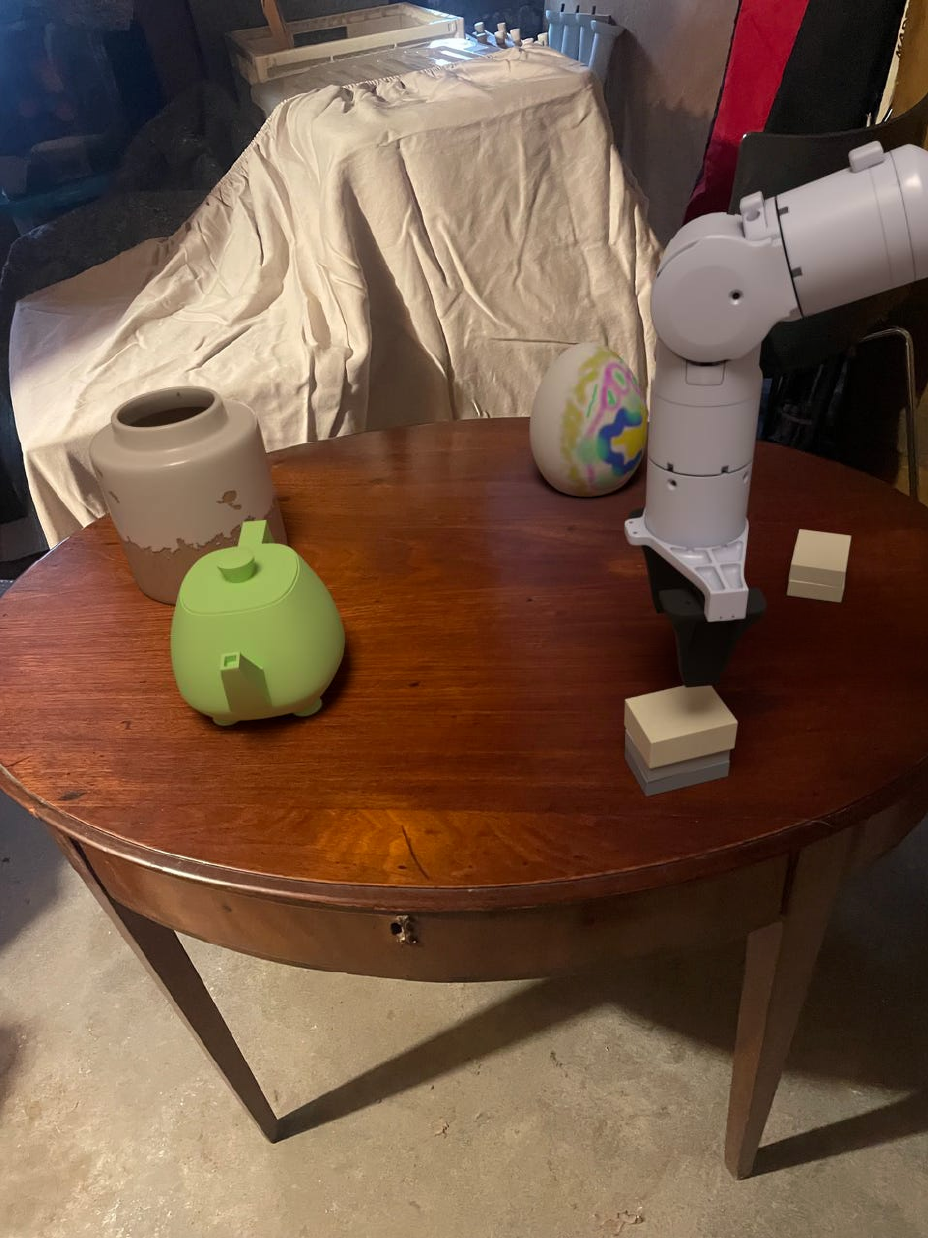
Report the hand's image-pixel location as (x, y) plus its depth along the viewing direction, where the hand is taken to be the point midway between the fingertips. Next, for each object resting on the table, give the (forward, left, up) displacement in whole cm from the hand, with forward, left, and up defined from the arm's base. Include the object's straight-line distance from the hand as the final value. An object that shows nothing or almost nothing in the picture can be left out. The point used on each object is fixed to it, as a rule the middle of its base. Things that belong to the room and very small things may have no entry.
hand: (684, 644), depth 57 cm
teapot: (+33, +2, -10) cm, 34 cm away
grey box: (0, +2, -10) cm, 10 cm away
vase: (+49, -13, -10) cm, 51 cm away
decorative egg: (+17, -38, -10) cm, 42 cm away
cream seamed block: (-8, -24, -10) cm, 27 cm away
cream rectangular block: (0, +2, -6) cm, 7 cm away
